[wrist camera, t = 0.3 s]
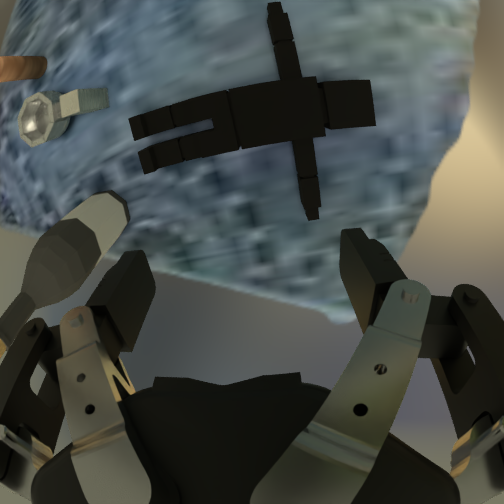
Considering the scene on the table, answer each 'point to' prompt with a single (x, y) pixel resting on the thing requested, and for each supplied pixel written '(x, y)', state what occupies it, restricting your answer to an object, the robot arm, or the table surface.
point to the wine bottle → (65, 258)
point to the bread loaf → (21, 67)
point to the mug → (56, 112)
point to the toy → (262, 116)
